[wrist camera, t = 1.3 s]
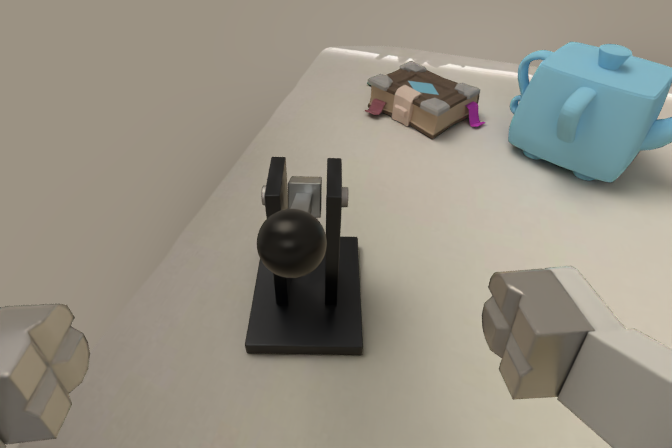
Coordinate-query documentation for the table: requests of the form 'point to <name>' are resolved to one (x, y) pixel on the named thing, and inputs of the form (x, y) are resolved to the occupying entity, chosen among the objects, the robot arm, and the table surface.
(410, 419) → the table surface
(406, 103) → the book
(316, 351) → the switch bracket
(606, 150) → the teapot
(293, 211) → the lever
